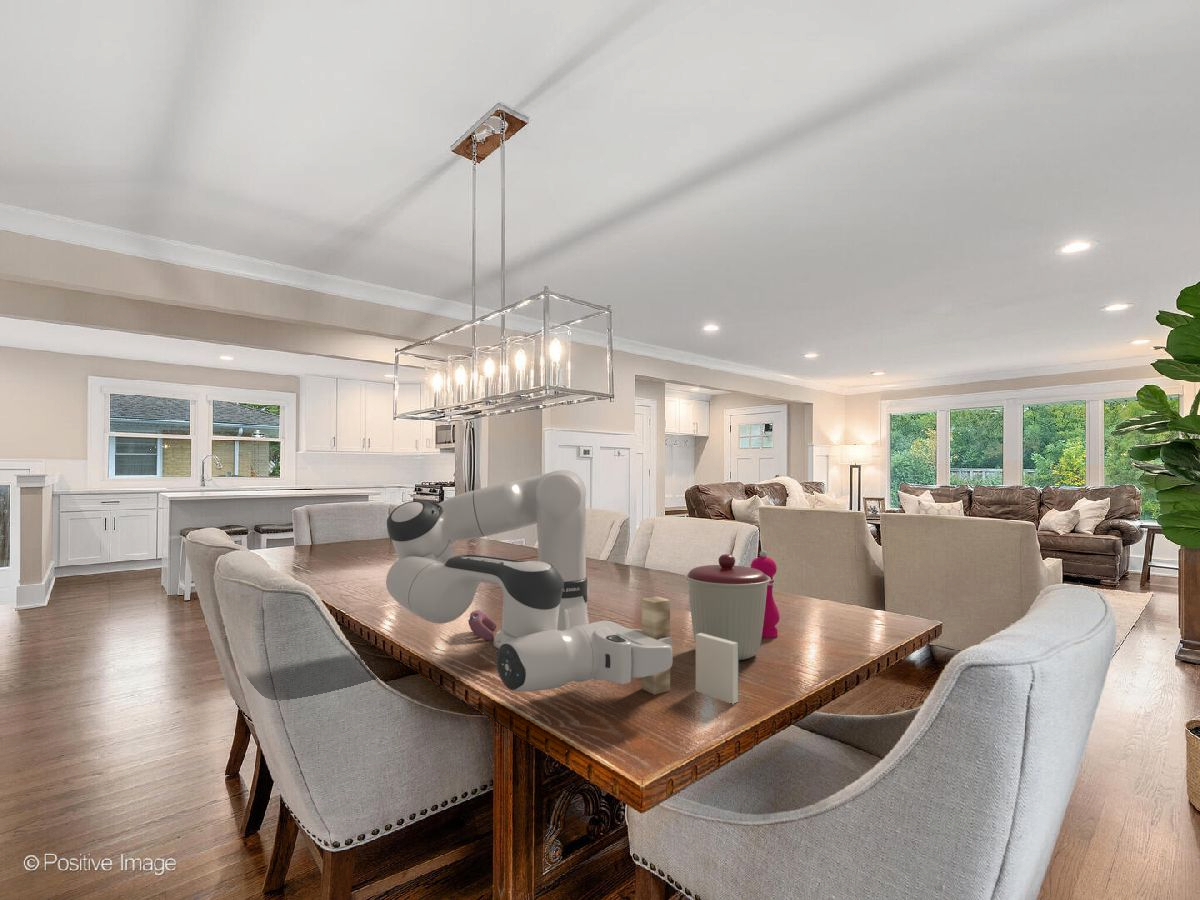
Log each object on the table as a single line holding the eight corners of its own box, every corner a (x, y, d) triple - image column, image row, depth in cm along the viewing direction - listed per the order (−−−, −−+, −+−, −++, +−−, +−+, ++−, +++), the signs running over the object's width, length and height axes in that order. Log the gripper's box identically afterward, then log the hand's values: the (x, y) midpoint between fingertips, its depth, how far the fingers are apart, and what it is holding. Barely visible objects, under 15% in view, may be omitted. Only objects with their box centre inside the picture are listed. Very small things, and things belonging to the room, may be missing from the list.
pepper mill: (776, 631, 144) (775, 548, 144) (782, 639, 137) (782, 552, 137) (746, 630, 145) (745, 548, 145) (750, 638, 137) (750, 552, 138)
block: (653, 694, 103) (653, 602, 104) (641, 688, 106) (641, 598, 107) (670, 690, 105) (670, 600, 106) (657, 684, 108) (657, 596, 109)
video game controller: (481, 636, 144) (468, 610, 144) (498, 627, 145) (485, 601, 145) (476, 648, 135) (462, 621, 135) (494, 639, 135) (481, 611, 135)
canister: (715, 636, 139) (715, 546, 140) (787, 653, 126) (786, 554, 127) (667, 653, 127) (667, 554, 127) (740, 674, 114) (740, 564, 114)
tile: (732, 704, 99) (732, 644, 100) (695, 691, 105) (695, 634, 106) (738, 702, 100) (738, 642, 101) (701, 688, 106) (701, 632, 107)
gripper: (564, 652, 108) (626, 641, 115) (628, 688, 91) (697, 671, 98) (564, 617, 108) (626, 608, 115) (628, 646, 91) (697, 633, 98)
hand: (659, 637), depth 107 cm, fingers open, 4 cm apart
